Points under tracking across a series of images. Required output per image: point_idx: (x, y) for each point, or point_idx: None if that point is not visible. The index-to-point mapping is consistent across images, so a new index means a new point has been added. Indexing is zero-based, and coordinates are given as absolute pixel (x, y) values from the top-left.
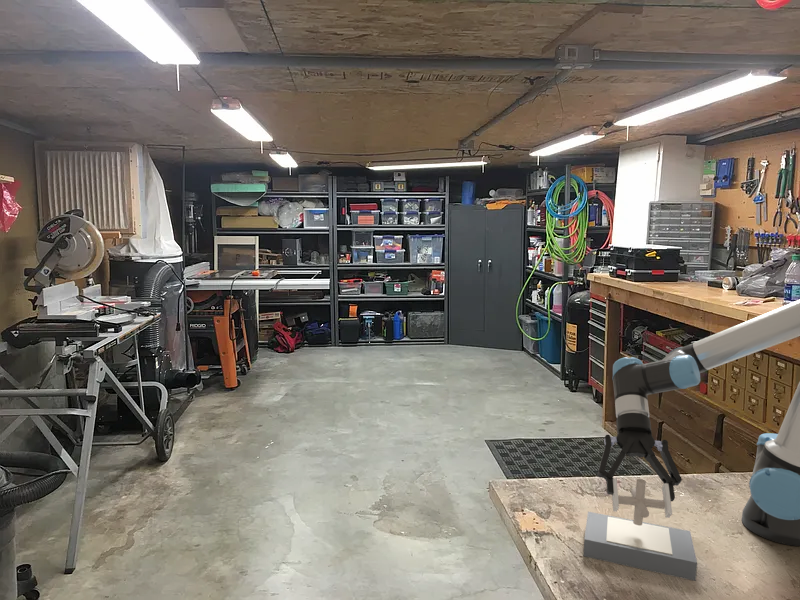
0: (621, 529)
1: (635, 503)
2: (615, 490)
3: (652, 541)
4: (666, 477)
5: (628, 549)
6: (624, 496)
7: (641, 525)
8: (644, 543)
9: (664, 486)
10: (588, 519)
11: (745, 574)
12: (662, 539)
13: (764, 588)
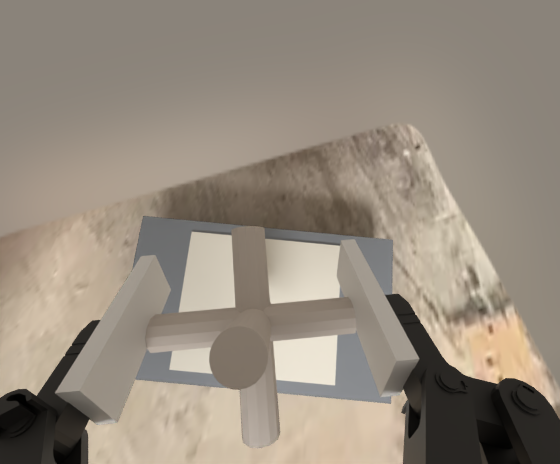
0: None
1: (272, 304)
2: (376, 291)
3: (228, 277)
4: (27, 454)
5: (290, 230)
6: (319, 320)
7: None
8: None
9: (97, 378)
10: None
11: (51, 280)
12: (200, 296)
13: (35, 240)
